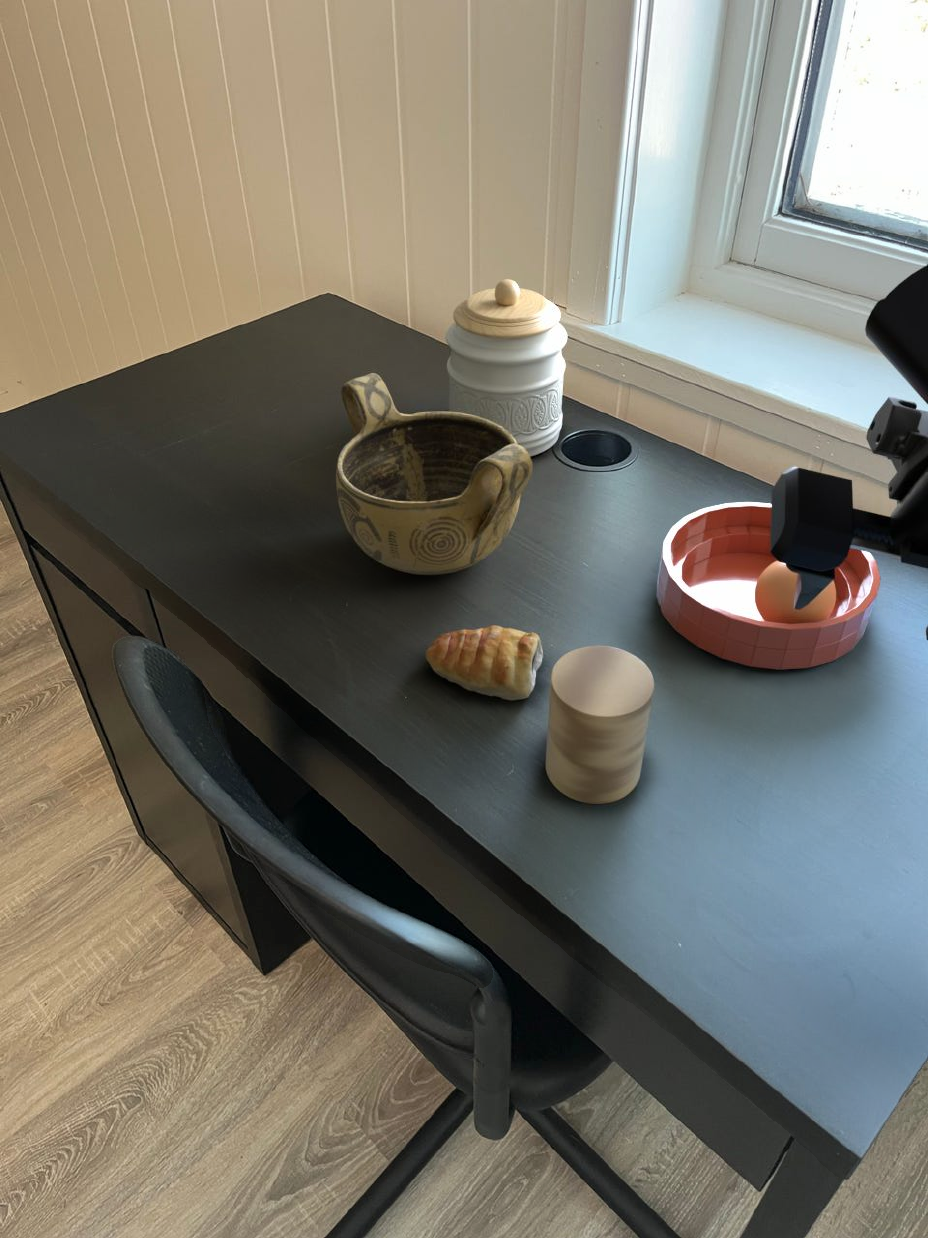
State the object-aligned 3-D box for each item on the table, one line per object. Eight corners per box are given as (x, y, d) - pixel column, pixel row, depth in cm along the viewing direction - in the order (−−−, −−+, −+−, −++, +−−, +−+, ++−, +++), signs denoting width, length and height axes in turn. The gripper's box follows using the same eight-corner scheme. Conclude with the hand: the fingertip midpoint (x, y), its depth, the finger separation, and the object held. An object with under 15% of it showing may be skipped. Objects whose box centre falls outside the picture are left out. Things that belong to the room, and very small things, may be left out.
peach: (842, 638, 80) (863, 562, 75) (786, 664, 77) (804, 588, 72) (786, 599, 84) (803, 525, 79) (731, 623, 81) (745, 548, 77)
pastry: (418, 690, 77) (416, 655, 74) (437, 637, 82) (436, 602, 79) (533, 707, 75) (534, 671, 73) (545, 651, 80) (547, 616, 78)
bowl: (877, 574, 87) (892, 529, 84) (847, 700, 75) (863, 653, 72) (686, 528, 93) (693, 485, 90) (629, 637, 81) (635, 592, 78)
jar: (489, 396, 115) (490, 249, 104) (582, 425, 109) (593, 273, 98) (425, 441, 107) (418, 287, 96) (522, 474, 101) (526, 315, 90)
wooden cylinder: (652, 749, 71) (666, 662, 66) (622, 817, 67) (636, 729, 61) (565, 721, 74) (572, 634, 68) (531, 784, 69) (535, 697, 63)
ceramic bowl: (578, 567, 89) (589, 424, 79) (442, 650, 80) (436, 501, 71) (426, 475, 102) (419, 342, 92) (294, 538, 93) (271, 399, 83)
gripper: (1138, 402, 55) (984, 559, 68) (828, 330, 56) (733, 499, 69) (1179, 549, 49) (1001, 690, 62) (831, 467, 50) (726, 624, 63)
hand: (862, 619), depth 64 cm, fingers open, 9 cm apart
